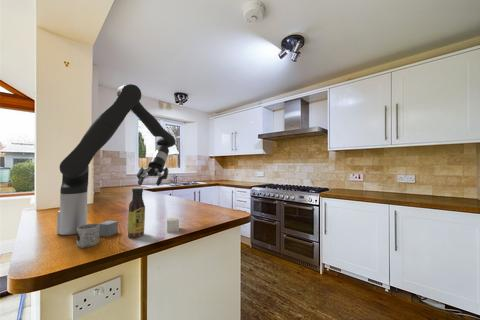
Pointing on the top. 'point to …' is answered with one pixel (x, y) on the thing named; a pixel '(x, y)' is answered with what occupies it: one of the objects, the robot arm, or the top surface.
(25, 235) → the top surface
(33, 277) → the top surface
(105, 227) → the slate block
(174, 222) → the off-white block
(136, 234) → the sauce bottle
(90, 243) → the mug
